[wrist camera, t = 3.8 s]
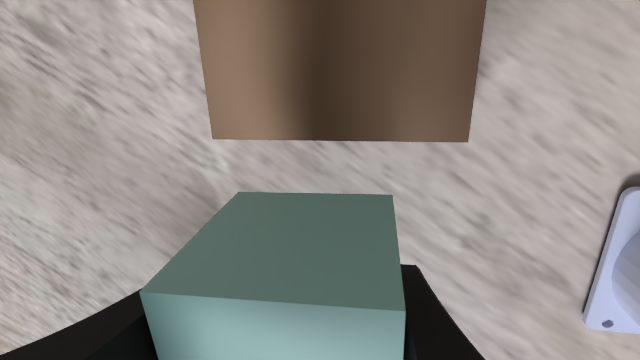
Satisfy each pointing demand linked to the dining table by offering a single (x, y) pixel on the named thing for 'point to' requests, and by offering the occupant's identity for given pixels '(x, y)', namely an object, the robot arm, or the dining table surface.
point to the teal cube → (284, 282)
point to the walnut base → (340, 68)
